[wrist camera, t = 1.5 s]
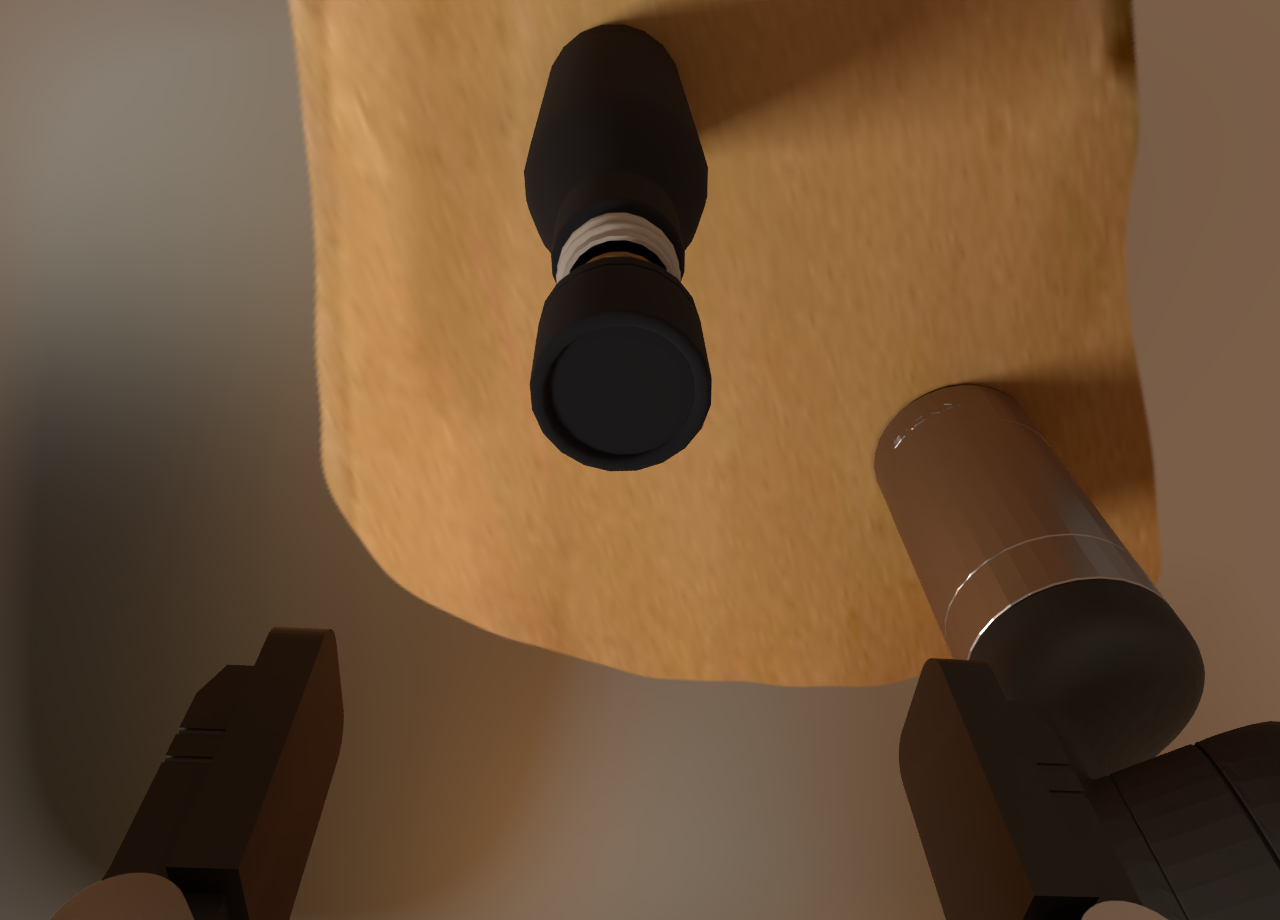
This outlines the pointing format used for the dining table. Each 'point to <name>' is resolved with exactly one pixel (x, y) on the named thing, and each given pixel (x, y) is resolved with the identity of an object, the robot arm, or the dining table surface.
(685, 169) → the black bottle
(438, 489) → the dining table surface
